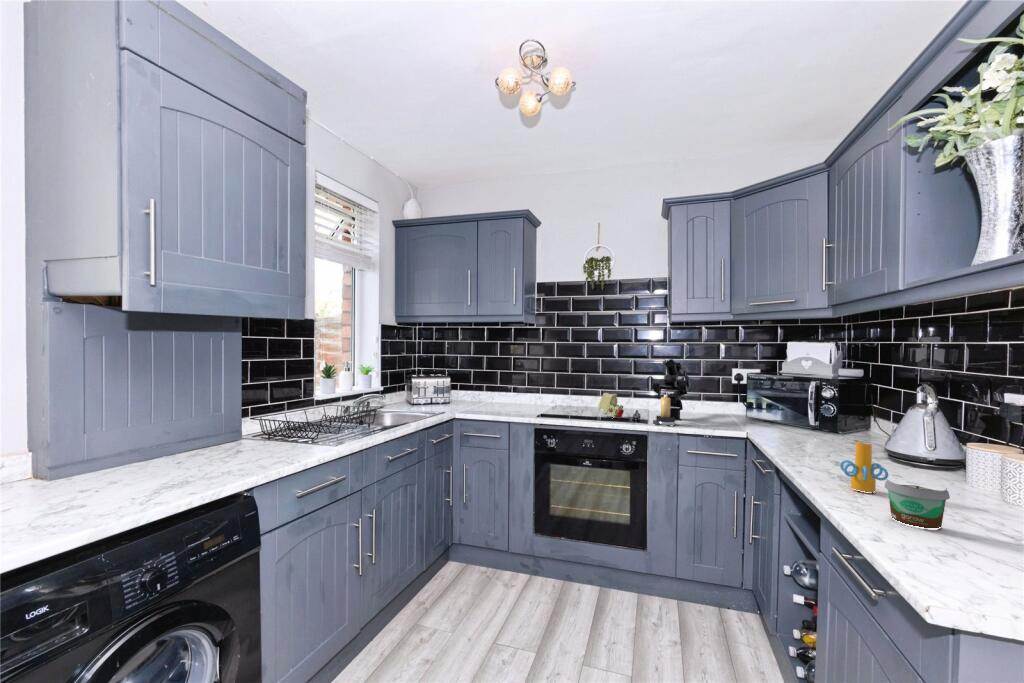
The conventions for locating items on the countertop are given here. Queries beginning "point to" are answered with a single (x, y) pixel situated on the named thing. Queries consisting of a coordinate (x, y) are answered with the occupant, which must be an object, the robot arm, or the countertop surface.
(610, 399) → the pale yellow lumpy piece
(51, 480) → the countertop surface
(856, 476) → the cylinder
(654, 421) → the motor
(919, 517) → the food container
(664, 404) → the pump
